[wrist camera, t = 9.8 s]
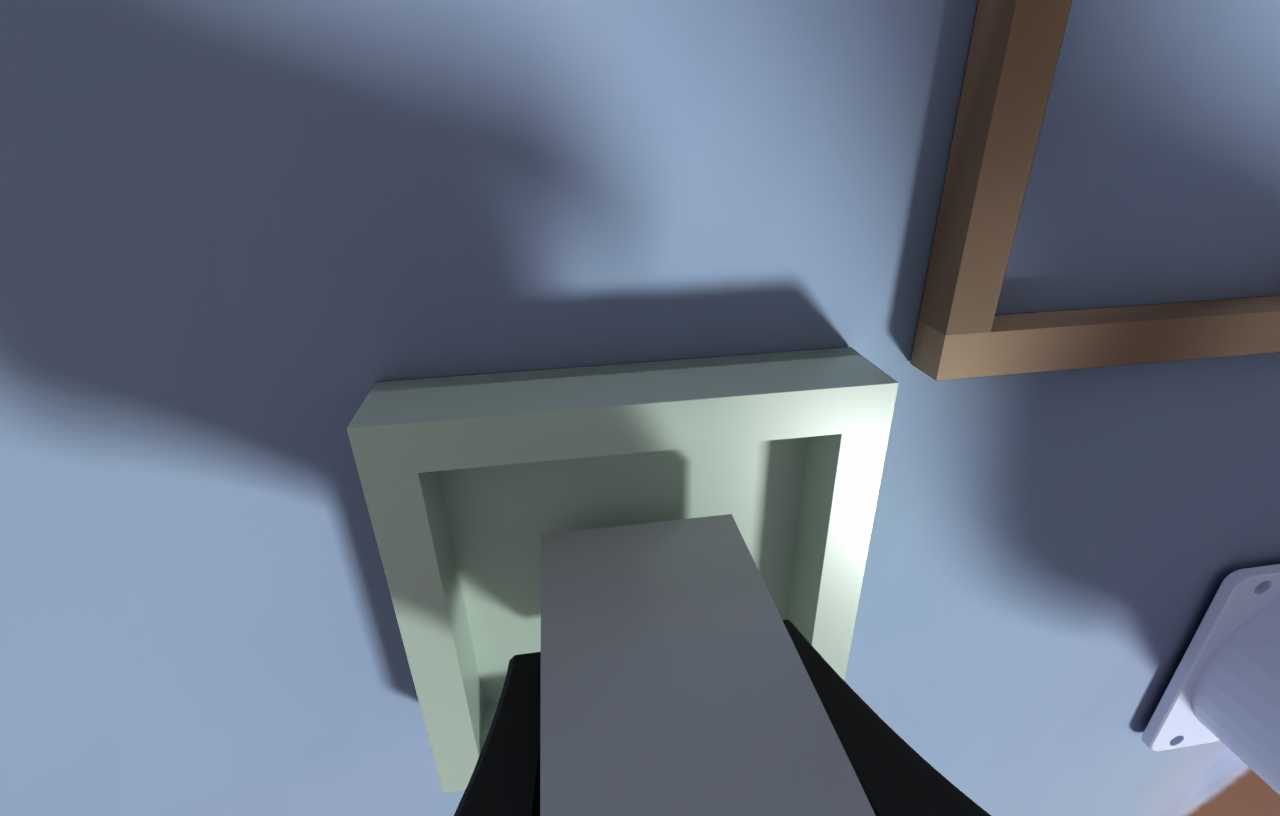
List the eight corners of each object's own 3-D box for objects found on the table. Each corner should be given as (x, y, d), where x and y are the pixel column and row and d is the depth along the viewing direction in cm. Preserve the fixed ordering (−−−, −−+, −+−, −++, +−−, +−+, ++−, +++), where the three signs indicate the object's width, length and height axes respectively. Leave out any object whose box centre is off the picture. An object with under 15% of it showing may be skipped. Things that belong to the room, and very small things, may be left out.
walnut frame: (1635, -294, 10) (1741, -333, 9) (1324, 330, 15) (1373, 344, 14) (1043, -339, 9) (1098, -390, 8) (910, 363, 14) (936, 381, 13)
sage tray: (850, 346, 13) (898, 382, 11) (805, 669, 18) (834, 732, 16) (375, 381, 12) (346, 428, 10) (453, 719, 16) (442, 793, 15)
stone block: (731, 514, 13) (913, 894, 7) (723, 650, 14) (861, 1052, 8) (541, 534, 12) (540, 966, 6) (557, 673, 14) (568, 1119, 8)
